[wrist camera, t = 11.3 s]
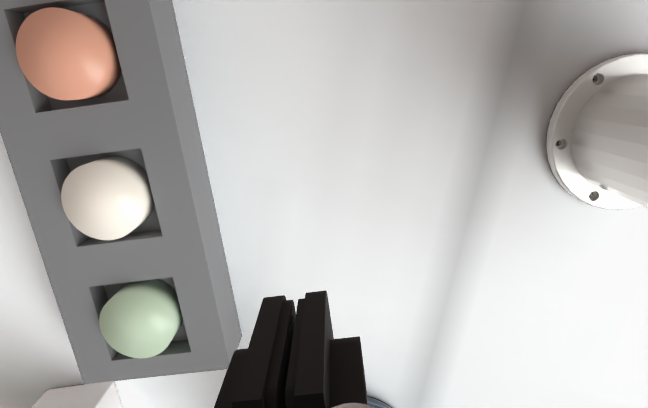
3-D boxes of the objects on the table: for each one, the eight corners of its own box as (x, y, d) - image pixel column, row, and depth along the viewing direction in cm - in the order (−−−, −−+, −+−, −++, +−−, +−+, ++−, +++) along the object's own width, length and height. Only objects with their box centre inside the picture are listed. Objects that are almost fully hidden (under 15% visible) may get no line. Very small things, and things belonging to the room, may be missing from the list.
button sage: (175, 274, 37) (163, 288, 35) (190, 335, 39) (180, 354, 36) (106, 282, 38) (90, 297, 35) (124, 343, 39) (110, 361, 37)
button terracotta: (110, 7, 32) (90, 1, 29) (131, 92, 33) (114, 94, 31) (30, 19, 32) (3, 14, 29) (54, 103, 34) (31, 105, 31)
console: (165, -28, 34) (138, -46, 29) (241, 335, 43) (230, 368, 38) (4, -4, 35) (-49, -17, 30) (111, 350, 43) (84, 384, 38)
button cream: (145, 151, 34) (130, 157, 32) (163, 224, 36) (150, 235, 34) (71, 161, 35) (50, 168, 32) (92, 232, 36) (74, 244, 34)
